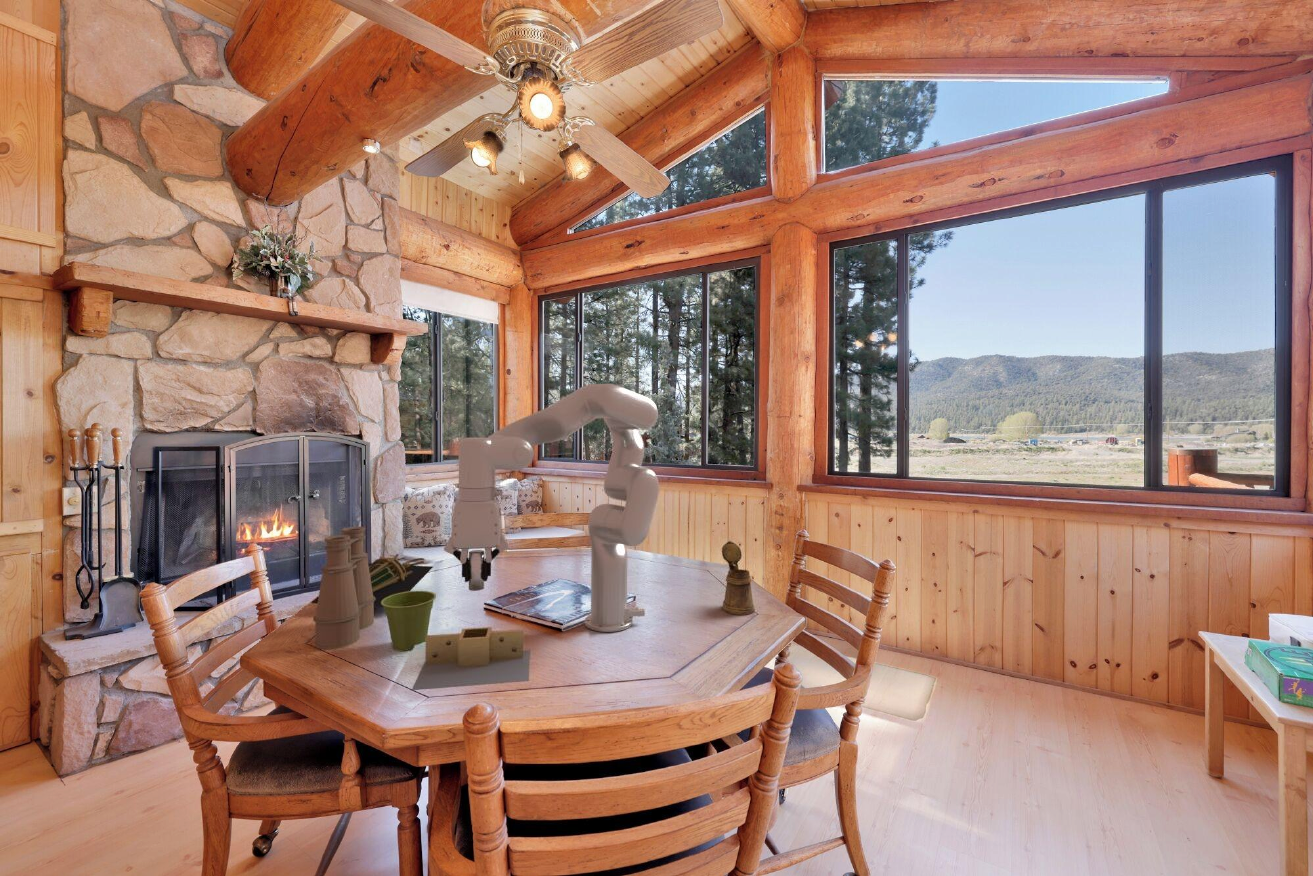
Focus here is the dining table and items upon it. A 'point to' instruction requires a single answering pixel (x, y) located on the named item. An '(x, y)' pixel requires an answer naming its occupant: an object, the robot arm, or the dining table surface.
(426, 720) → the dining table surface
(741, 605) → the wooden mug
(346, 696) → the dining table surface
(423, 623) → the plant pot
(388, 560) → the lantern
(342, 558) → the binoculars
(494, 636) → the hinge
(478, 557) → the pin
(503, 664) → the board
